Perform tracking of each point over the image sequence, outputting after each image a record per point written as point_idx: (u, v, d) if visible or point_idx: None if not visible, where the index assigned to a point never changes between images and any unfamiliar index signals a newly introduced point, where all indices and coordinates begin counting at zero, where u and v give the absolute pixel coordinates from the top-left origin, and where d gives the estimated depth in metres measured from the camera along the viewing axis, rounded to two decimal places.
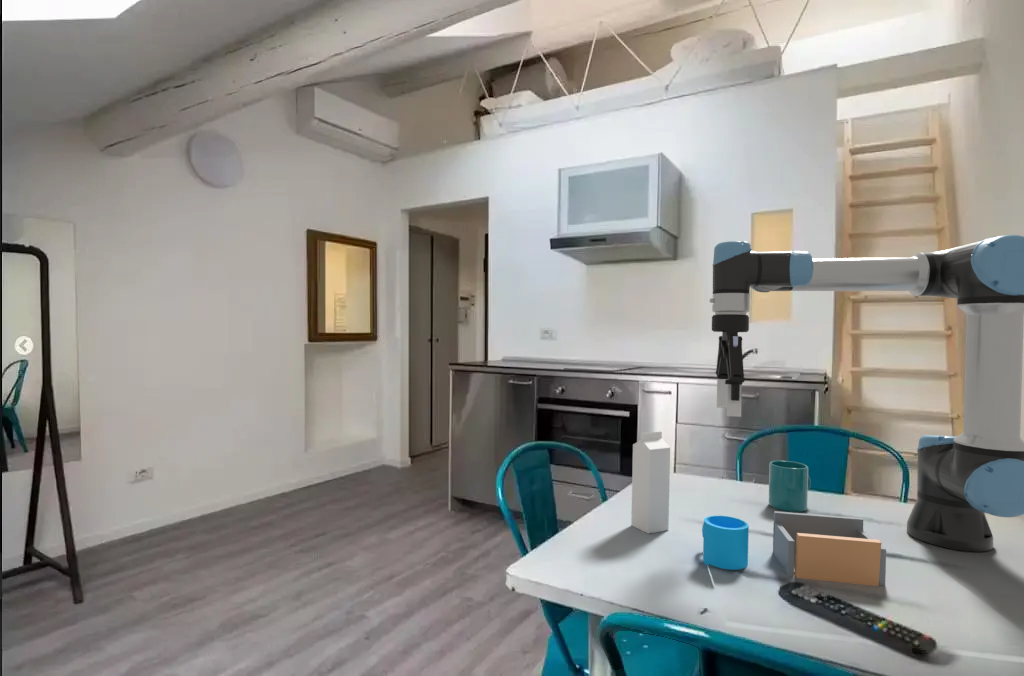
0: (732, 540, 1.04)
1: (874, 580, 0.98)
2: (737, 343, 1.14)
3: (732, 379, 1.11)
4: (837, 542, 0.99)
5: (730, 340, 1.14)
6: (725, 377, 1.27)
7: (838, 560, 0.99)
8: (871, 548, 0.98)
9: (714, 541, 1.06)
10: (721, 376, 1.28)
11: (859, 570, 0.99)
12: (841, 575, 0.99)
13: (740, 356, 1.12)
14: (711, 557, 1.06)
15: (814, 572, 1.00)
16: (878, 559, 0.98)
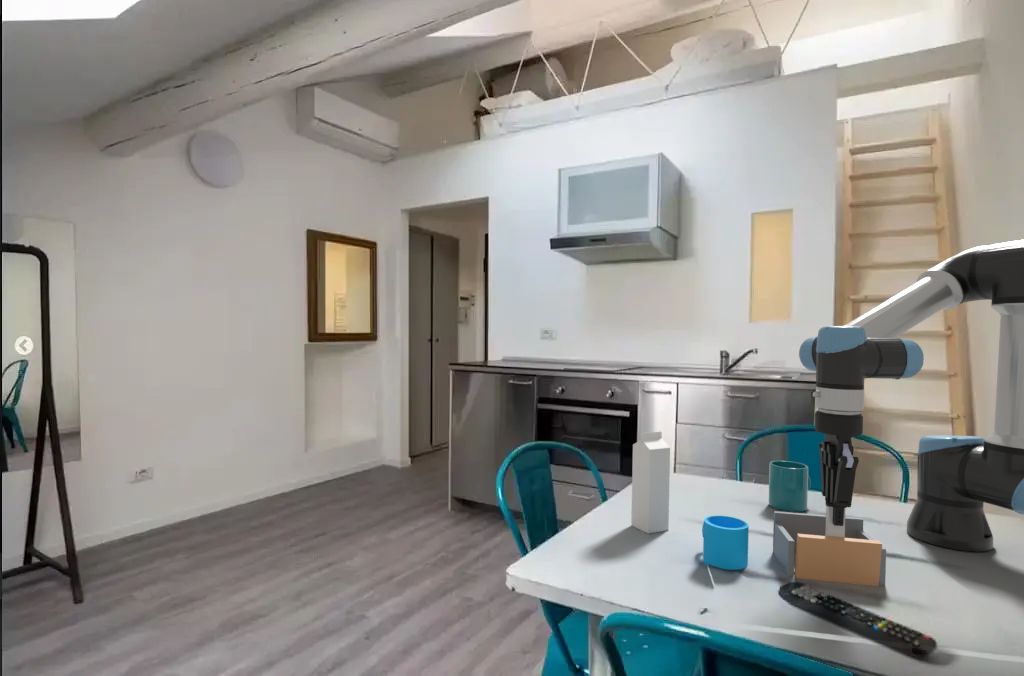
0: (732, 540, 1.04)
1: (875, 580, 0.98)
2: (851, 466, 0.95)
3: (836, 505, 0.97)
4: (838, 543, 0.99)
5: (843, 463, 0.95)
6: None
7: (838, 561, 0.99)
8: (872, 549, 0.98)
9: (714, 541, 1.06)
10: None
11: (859, 571, 0.99)
12: (841, 575, 0.99)
13: (851, 481, 0.96)
14: (711, 557, 1.06)
15: (814, 572, 1.00)
16: (879, 560, 0.98)
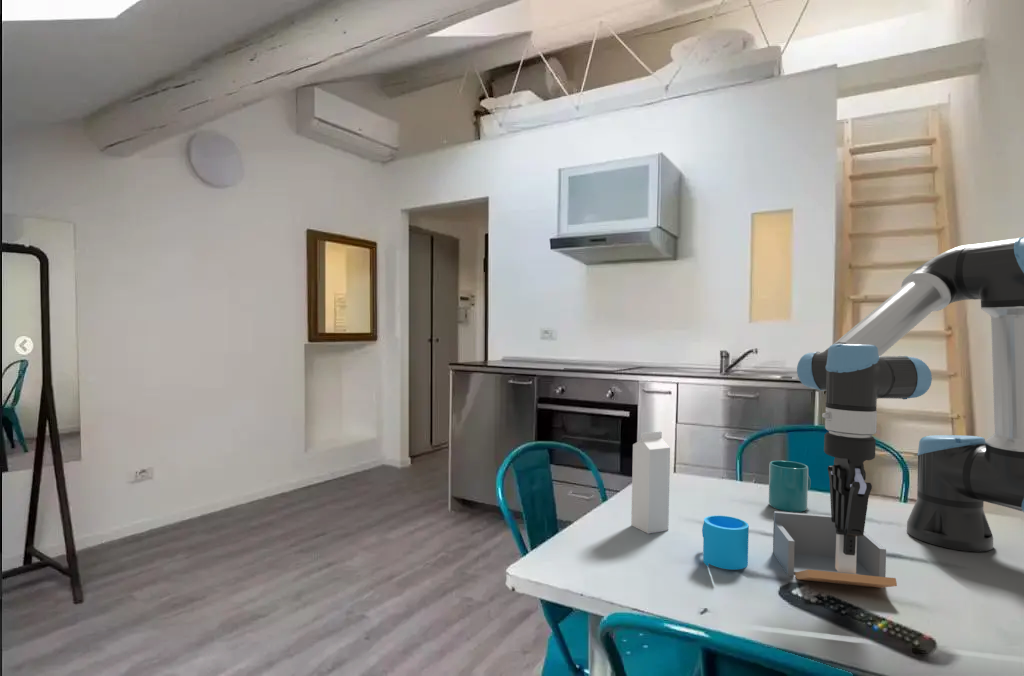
0: (732, 540, 1.04)
1: None
2: (864, 493, 0.90)
3: (848, 534, 0.92)
4: (849, 581, 0.94)
5: (855, 489, 0.90)
6: None
7: (844, 582, 0.96)
8: (883, 585, 0.93)
9: (714, 541, 1.06)
10: None
11: (862, 585, 0.97)
12: (842, 583, 0.99)
13: (864, 508, 0.90)
14: (711, 557, 1.06)
15: None
16: (887, 586, 0.94)
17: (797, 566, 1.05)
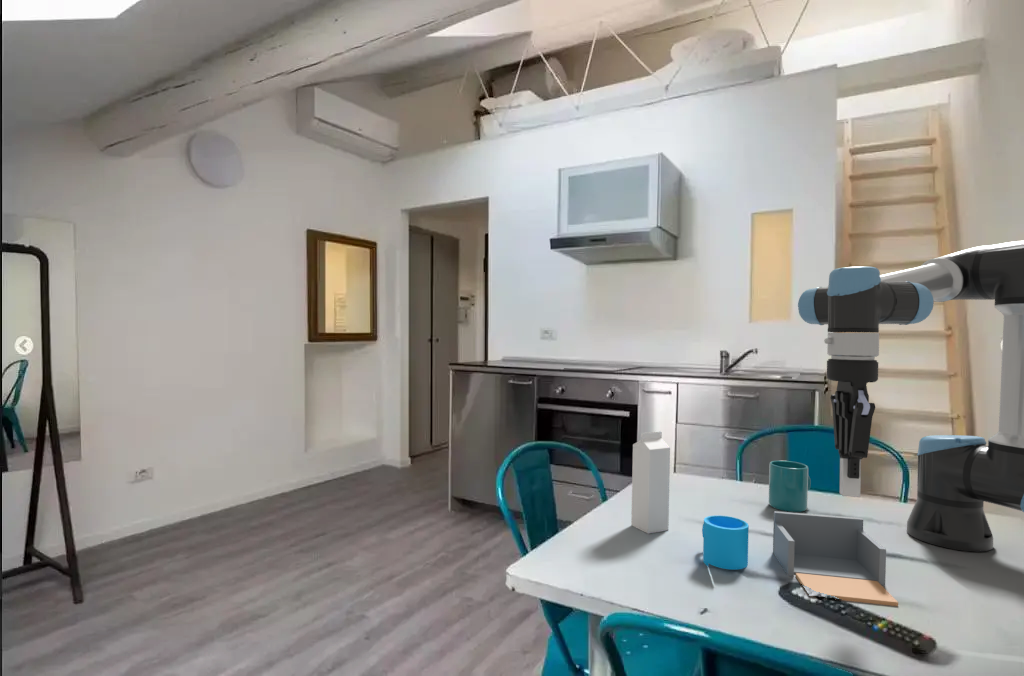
0: (732, 540, 1.04)
1: None
2: (867, 413, 0.89)
3: (852, 456, 0.92)
4: None
5: (859, 410, 0.89)
6: None
7: None
8: None
9: (714, 541, 1.06)
10: None
11: None
12: None
13: (868, 429, 0.90)
14: (711, 557, 1.06)
15: None
16: None
17: (797, 566, 1.05)
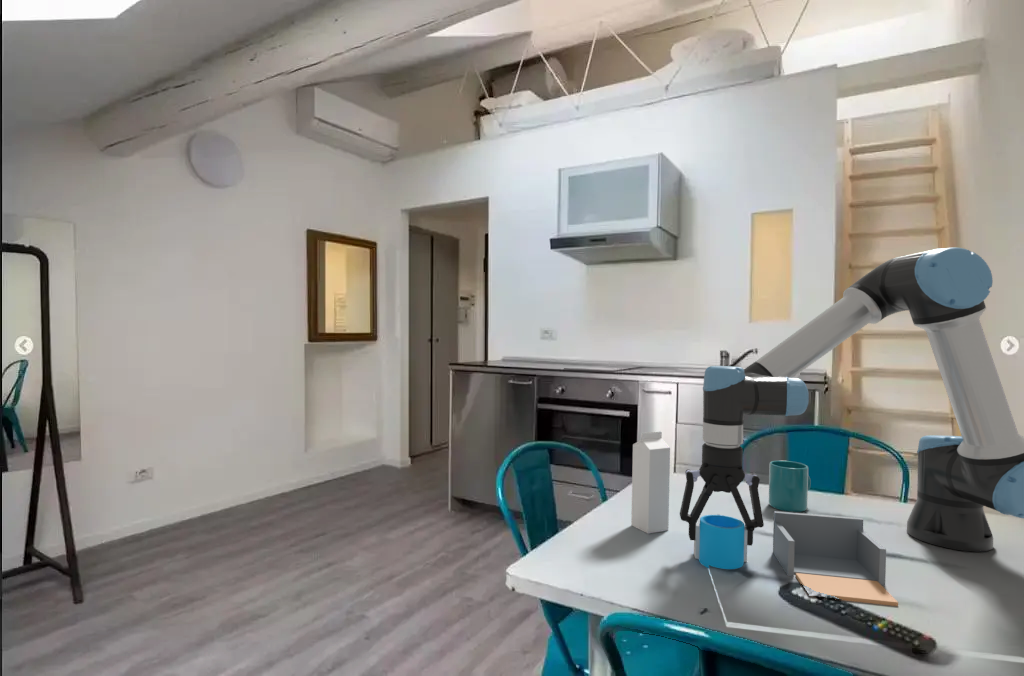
0: (728, 539, 1.04)
1: None
2: None
3: None
4: None
5: None
6: (746, 525, 1.09)
7: None
8: None
9: (710, 540, 1.06)
10: (745, 524, 1.09)
11: None
12: None
13: (685, 493, 1.11)
14: (707, 556, 1.06)
15: None
16: None
17: (797, 566, 1.05)
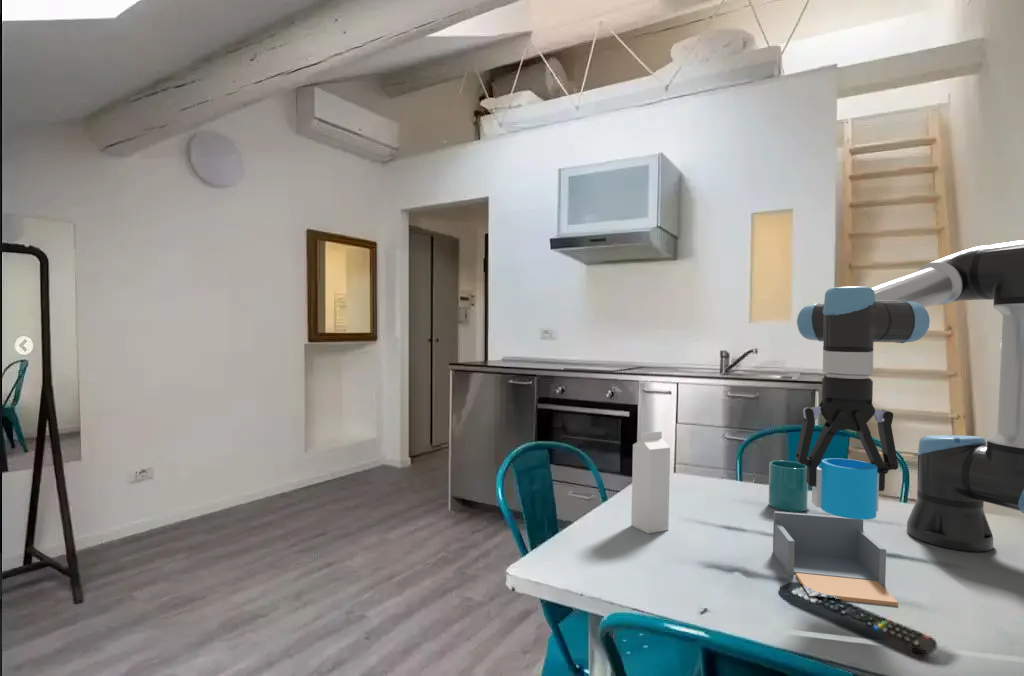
0: (861, 481, 0.91)
1: None
2: (805, 417, 0.97)
3: None
4: None
5: (802, 412, 0.99)
6: None
7: None
8: None
9: (838, 484, 0.92)
10: None
11: None
12: None
13: (804, 433, 0.97)
14: (834, 502, 0.93)
15: None
16: None
17: (797, 566, 1.05)
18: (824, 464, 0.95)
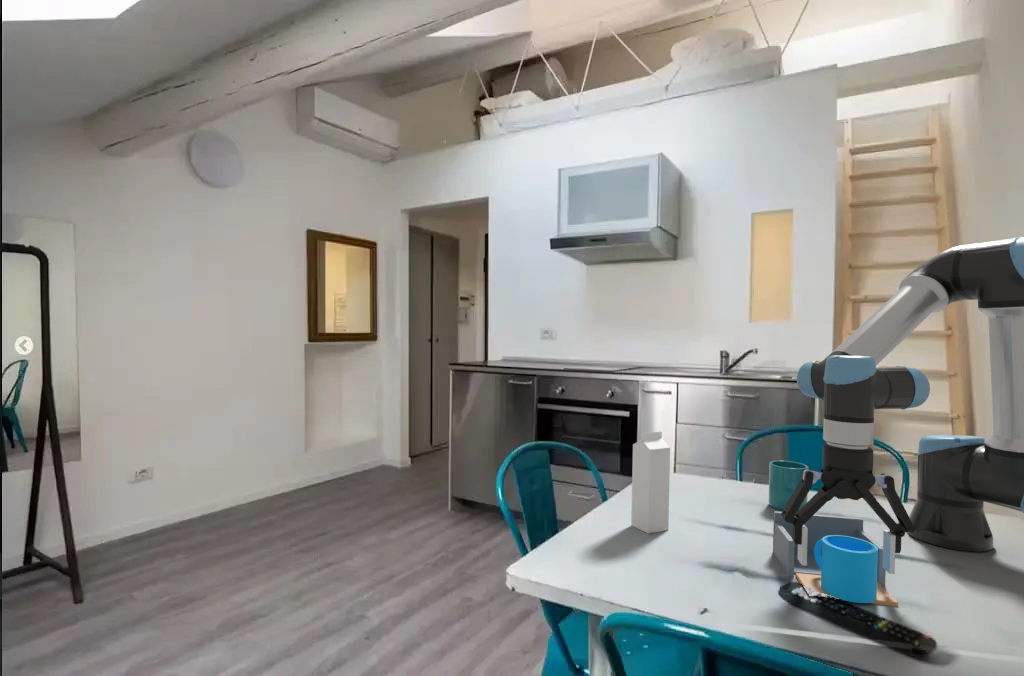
0: (862, 565, 0.91)
1: None
2: (804, 478, 0.97)
3: (781, 515, 0.99)
4: None
5: (802, 473, 0.99)
6: (892, 531, 0.94)
7: None
8: None
9: (839, 566, 0.92)
10: (890, 528, 0.95)
11: None
12: None
13: (797, 493, 0.97)
14: (835, 584, 0.93)
15: None
16: None
17: (797, 566, 1.05)
18: (825, 544, 0.95)
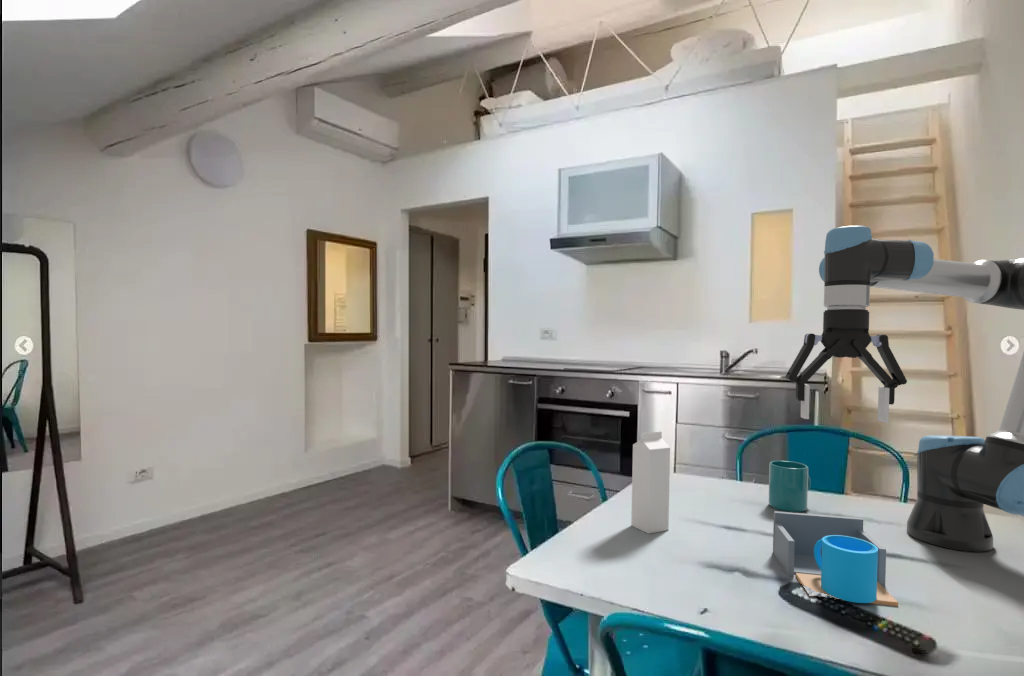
0: (862, 565, 0.91)
1: None
2: (806, 341, 1.07)
3: None
4: None
5: None
6: (886, 385, 1.04)
7: None
8: None
9: (839, 566, 0.92)
10: (884, 384, 1.05)
11: None
12: None
13: (801, 354, 1.07)
14: (835, 584, 0.93)
15: None
16: None
17: (797, 566, 1.05)
18: (825, 544, 0.95)
